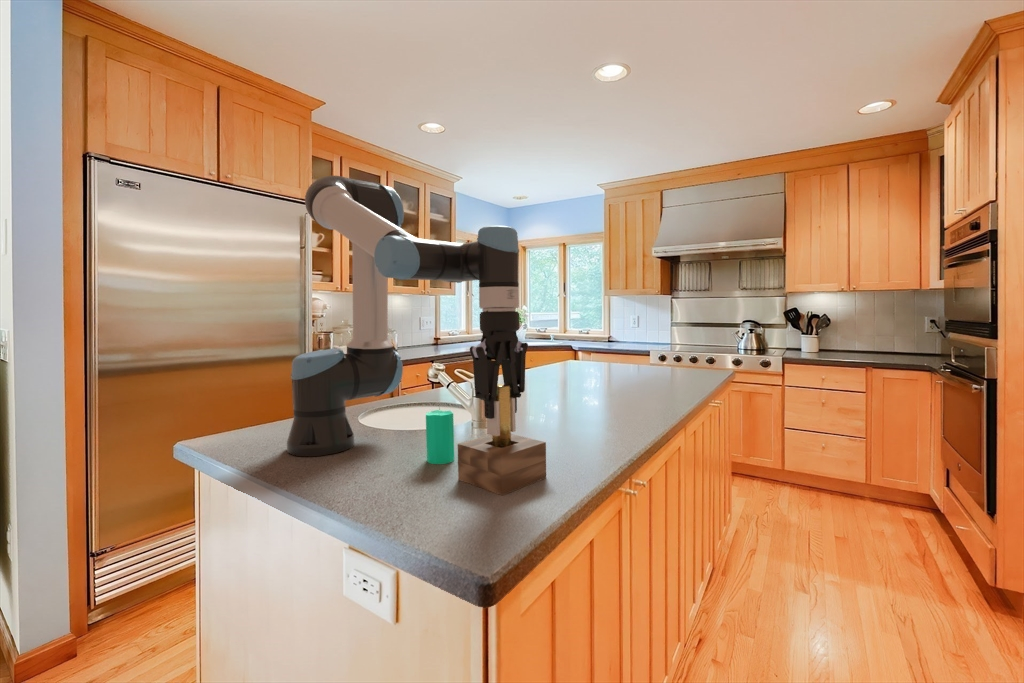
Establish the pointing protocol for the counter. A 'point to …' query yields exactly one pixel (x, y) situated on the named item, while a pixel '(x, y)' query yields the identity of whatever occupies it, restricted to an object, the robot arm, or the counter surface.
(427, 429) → the candle
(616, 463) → the counter surface
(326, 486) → the counter surface
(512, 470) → the bore block
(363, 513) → the counter surface
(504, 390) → the brass pin
